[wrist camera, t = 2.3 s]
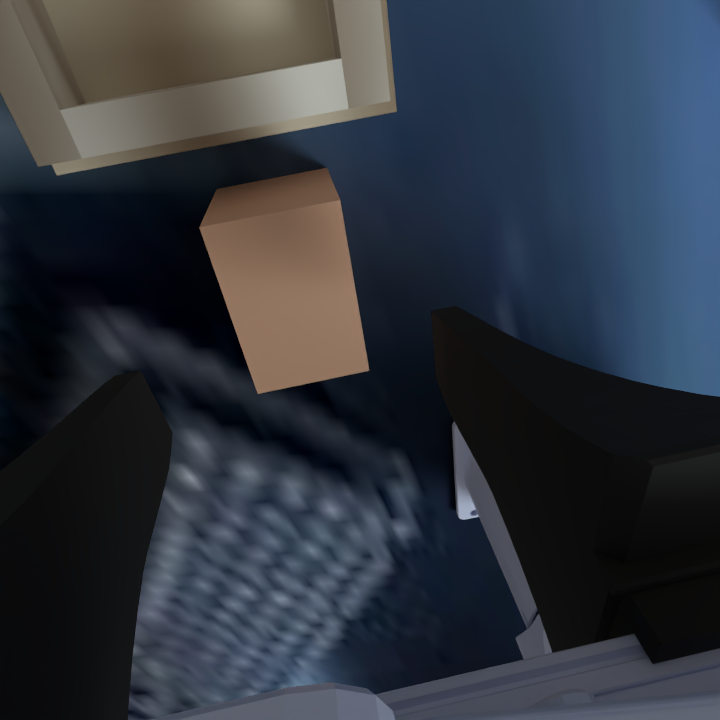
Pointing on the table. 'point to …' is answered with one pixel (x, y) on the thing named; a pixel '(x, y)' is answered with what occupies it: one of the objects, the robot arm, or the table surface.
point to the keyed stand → (186, 73)
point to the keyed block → (287, 278)
